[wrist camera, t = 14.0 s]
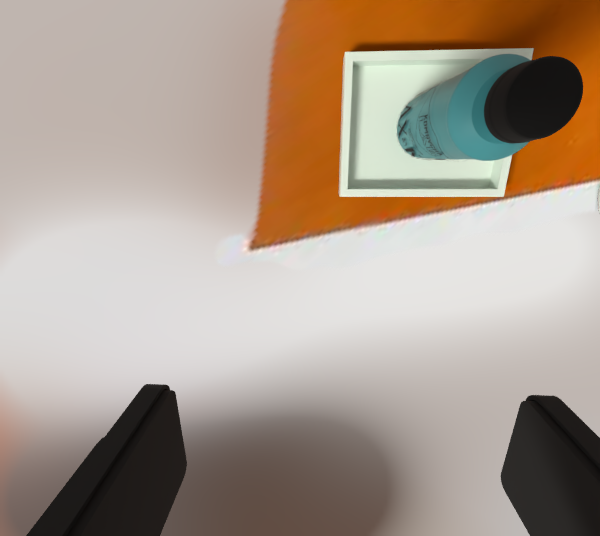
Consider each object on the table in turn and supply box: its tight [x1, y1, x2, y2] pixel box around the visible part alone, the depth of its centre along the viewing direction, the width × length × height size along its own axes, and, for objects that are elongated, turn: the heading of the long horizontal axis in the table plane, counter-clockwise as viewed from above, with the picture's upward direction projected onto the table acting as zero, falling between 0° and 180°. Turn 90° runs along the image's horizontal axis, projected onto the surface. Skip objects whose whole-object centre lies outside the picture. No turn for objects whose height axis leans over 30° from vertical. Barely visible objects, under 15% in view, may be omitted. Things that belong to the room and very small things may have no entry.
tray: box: [339, 48, 534, 197], centre depth 34 cm, size 18×14×2 cm
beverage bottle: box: [396, 54, 583, 162], centre depth 25 cm, size 6×7×20 cm
